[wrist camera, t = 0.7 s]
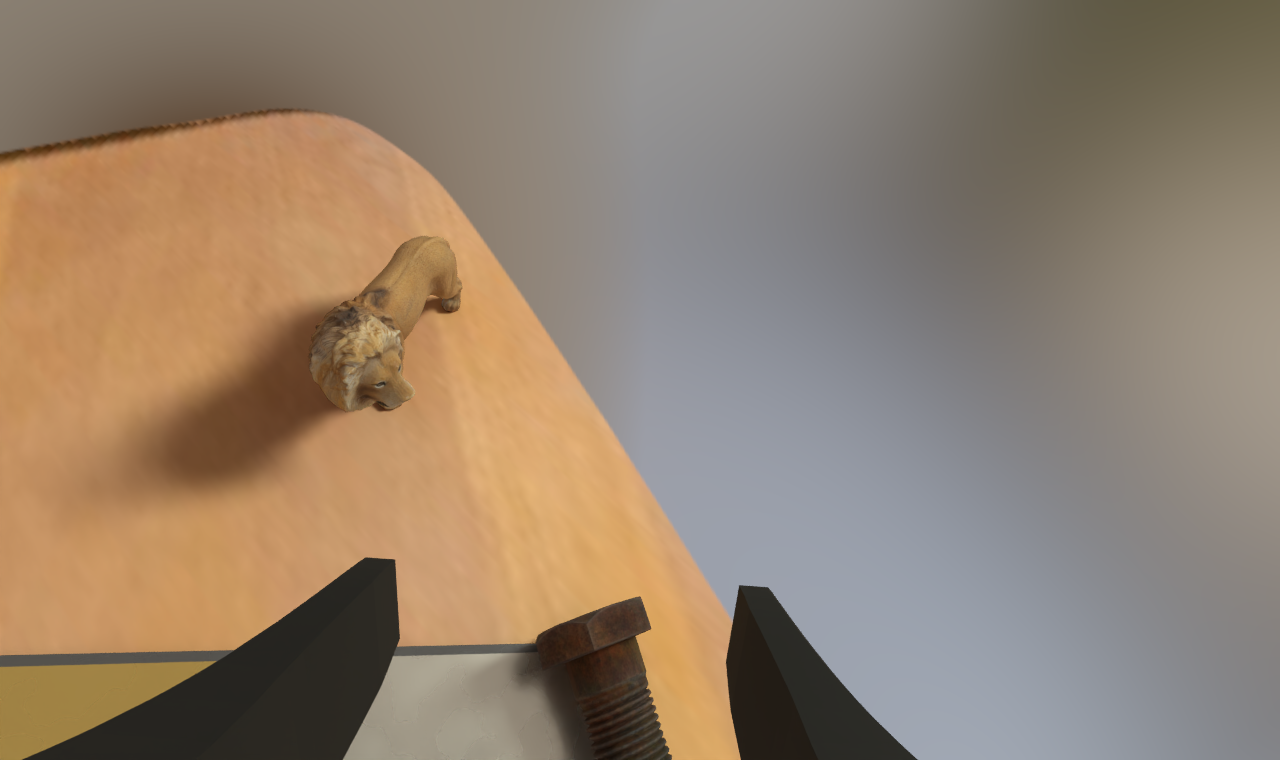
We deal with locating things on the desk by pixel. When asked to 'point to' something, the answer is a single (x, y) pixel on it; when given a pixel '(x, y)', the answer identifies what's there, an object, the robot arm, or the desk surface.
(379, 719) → the flat rectangular plate
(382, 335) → the lion figurine
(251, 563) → the desk surface
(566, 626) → the bolt
